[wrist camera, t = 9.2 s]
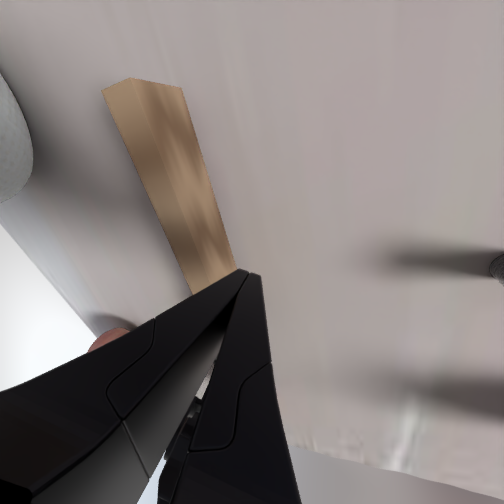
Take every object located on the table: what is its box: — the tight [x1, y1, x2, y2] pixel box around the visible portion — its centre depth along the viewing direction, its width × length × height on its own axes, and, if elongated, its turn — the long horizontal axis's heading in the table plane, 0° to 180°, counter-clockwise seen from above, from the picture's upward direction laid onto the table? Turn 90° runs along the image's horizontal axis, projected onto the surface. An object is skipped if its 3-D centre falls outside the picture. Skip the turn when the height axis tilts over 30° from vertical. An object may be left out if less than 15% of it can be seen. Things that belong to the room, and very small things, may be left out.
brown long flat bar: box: [101, 78, 237, 359], centre depth 18 cm, size 22×3×6 cm, turn 13°
